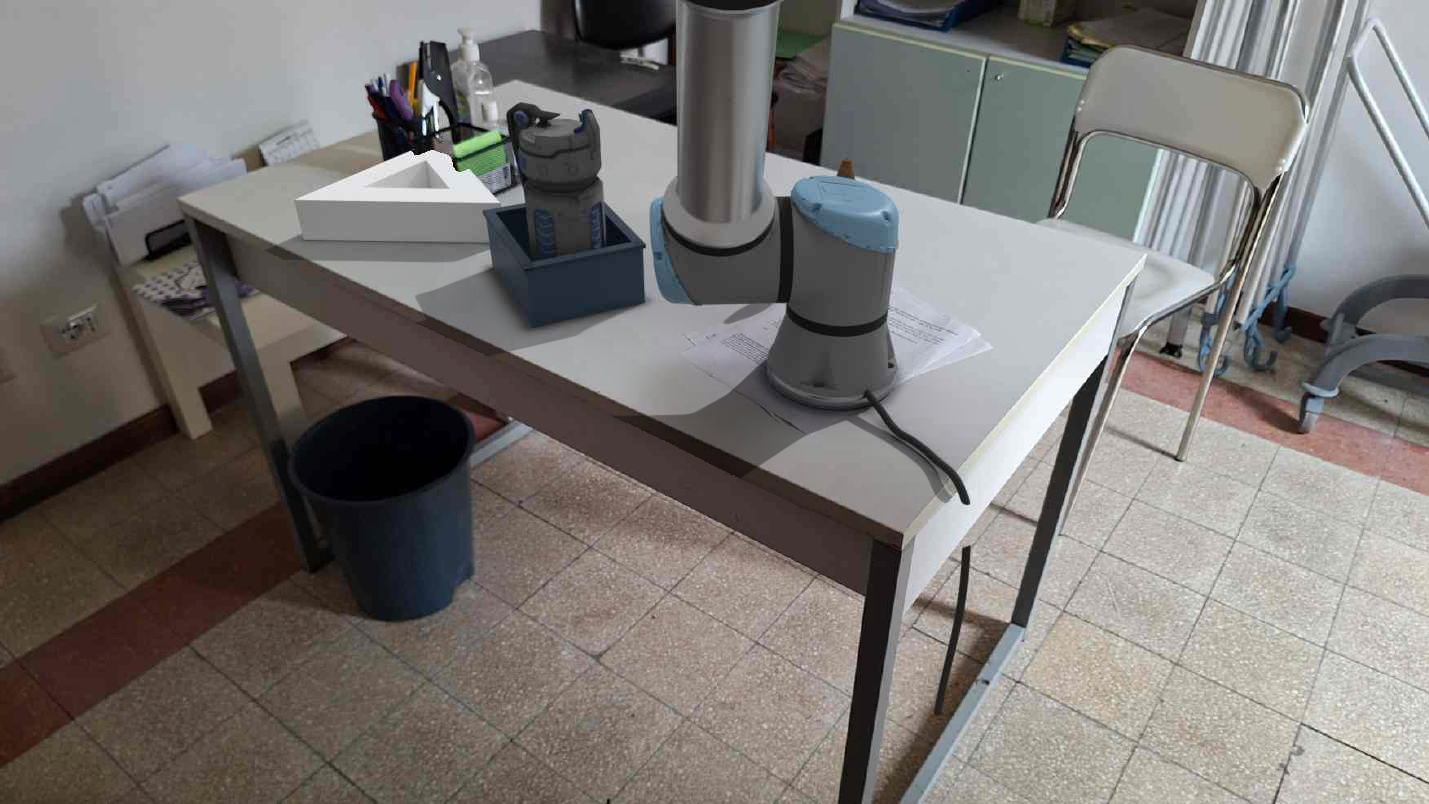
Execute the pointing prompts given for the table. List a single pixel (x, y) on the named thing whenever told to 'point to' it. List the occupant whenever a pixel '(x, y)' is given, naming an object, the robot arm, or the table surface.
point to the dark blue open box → (566, 269)
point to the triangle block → (400, 203)
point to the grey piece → (559, 180)
